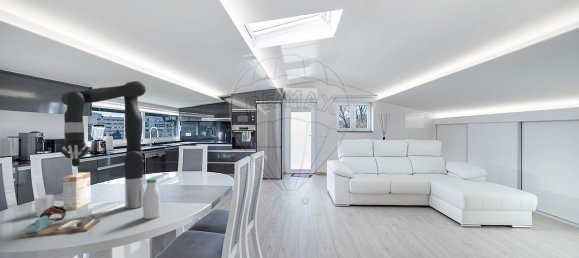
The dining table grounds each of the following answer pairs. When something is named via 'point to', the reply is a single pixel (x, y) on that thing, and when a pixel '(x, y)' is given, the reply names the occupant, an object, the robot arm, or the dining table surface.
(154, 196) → the milk bottle
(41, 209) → the white cup
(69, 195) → the coffeecake box
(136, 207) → the robot arm
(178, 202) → the dining table surface
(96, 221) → the ticket holder
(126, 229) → the dining table surface
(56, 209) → the pottery mug
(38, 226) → the stub
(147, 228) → the dining table surface
